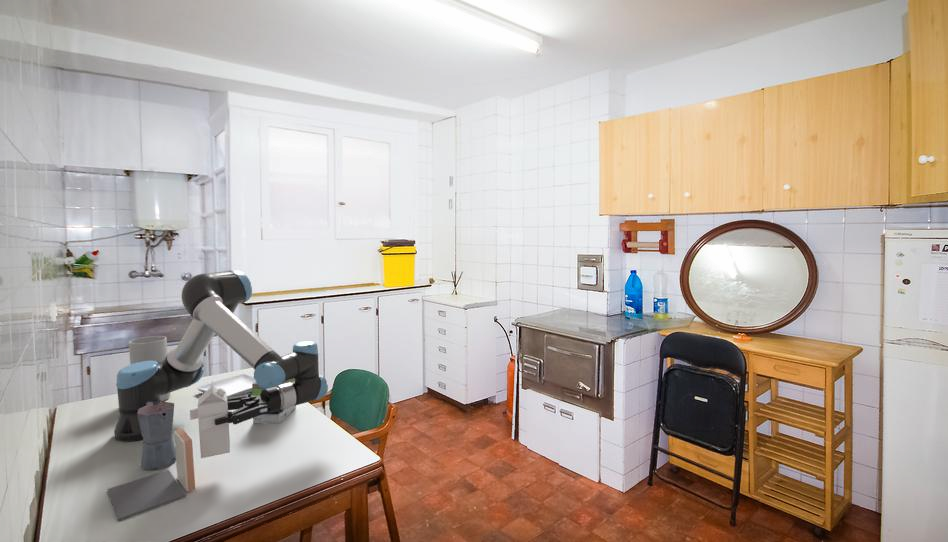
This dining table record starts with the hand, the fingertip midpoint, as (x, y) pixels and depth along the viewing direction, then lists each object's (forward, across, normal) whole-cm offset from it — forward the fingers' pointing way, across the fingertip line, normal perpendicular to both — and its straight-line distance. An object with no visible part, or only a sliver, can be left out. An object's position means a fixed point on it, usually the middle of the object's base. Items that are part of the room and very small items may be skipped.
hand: (195, 419), depth 128 cm
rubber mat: (+12, +2, -17) cm, 21 cm away
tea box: (-33, +29, -18) cm, 48 cm away
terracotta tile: (+3, 0, -17) cm, 18 cm away
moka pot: (+6, +19, -18) cm, 27 cm away
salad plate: (-31, +68, -18) cm, 77 cm away
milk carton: (-5, 0, -11) cm, 12 cm away
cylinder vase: (-4, +81, -18) cm, 83 cm away
